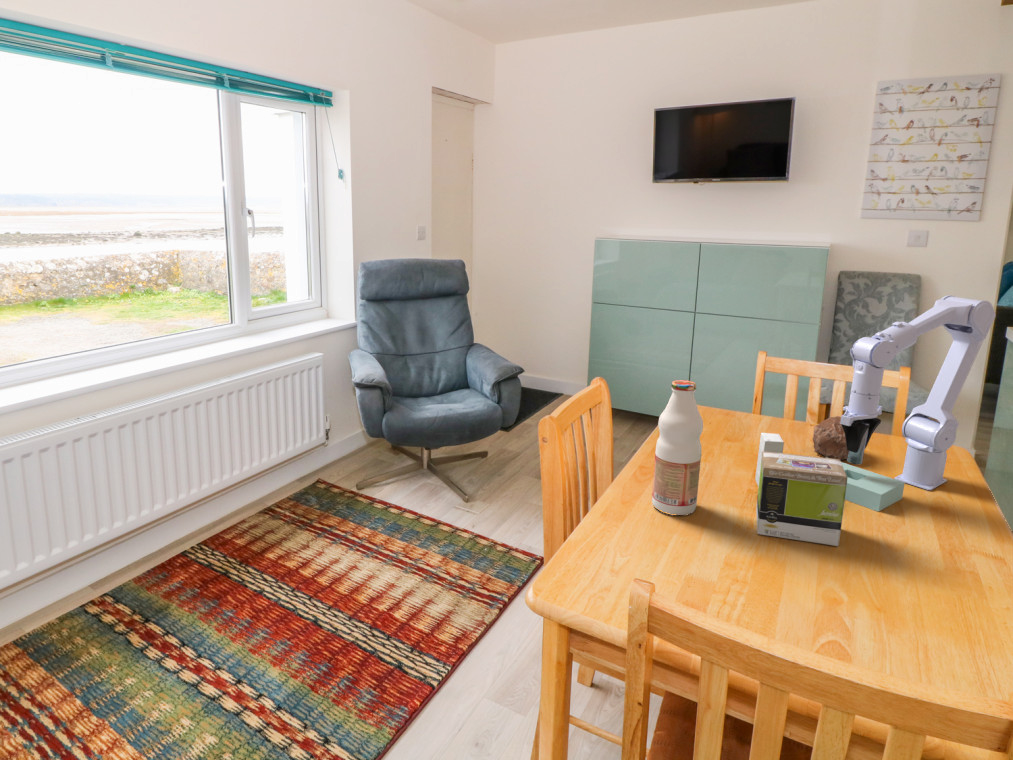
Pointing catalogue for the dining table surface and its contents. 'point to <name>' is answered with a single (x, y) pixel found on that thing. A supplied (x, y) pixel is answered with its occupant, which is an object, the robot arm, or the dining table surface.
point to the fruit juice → (678, 452)
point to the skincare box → (768, 448)
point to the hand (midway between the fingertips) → (856, 449)
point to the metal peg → (858, 457)
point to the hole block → (871, 488)
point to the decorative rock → (830, 439)
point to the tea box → (801, 497)
